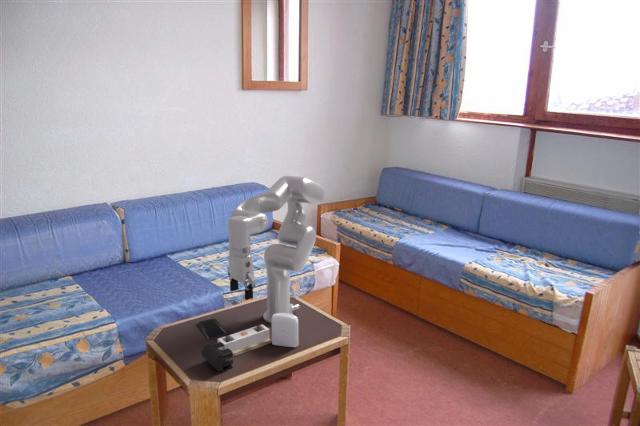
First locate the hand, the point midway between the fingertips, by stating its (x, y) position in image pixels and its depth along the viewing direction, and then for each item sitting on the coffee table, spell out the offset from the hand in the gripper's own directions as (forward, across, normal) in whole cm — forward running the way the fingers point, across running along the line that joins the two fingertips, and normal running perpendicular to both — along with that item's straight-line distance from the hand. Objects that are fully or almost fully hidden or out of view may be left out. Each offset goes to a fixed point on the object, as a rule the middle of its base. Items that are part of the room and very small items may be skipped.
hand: (241, 294), depth 183 cm
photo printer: (+20, -11, -11) cm, 25 cm away
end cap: (+19, -8, +16) cm, 26 cm away
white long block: (+18, -3, +2) cm, 19 cm away
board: (+19, -3, +2) cm, 20 cm away
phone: (+20, +16, +4) cm, 26 cm away
